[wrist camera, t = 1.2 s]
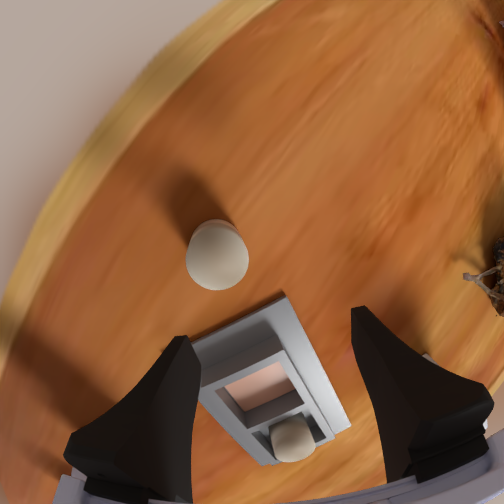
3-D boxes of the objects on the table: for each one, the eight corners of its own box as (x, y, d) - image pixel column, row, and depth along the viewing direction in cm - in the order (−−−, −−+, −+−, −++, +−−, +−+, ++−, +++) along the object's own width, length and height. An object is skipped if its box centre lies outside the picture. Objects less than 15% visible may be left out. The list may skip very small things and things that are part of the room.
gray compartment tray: (261, 463, 31) (265, 481, 28) (164, 354, 25) (160, 374, 22) (350, 423, 31) (359, 439, 28) (285, 294, 25) (294, 309, 22)
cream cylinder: (206, 278, 24) (205, 300, 20) (180, 234, 23) (174, 248, 19) (250, 254, 24) (259, 272, 20) (226, 209, 23) (230, 217, 19)
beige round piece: (276, 436, 29) (284, 466, 25) (260, 418, 28) (268, 449, 24) (309, 422, 29) (320, 450, 25) (295, 402, 28) (307, 432, 24)
